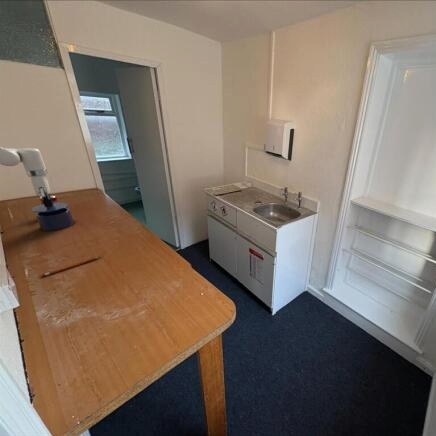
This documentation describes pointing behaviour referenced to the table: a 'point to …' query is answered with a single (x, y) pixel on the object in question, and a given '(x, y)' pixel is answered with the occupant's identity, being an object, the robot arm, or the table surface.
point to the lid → (49, 209)
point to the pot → (55, 219)
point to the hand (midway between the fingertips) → (49, 205)
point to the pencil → (69, 266)
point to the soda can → (52, 199)
